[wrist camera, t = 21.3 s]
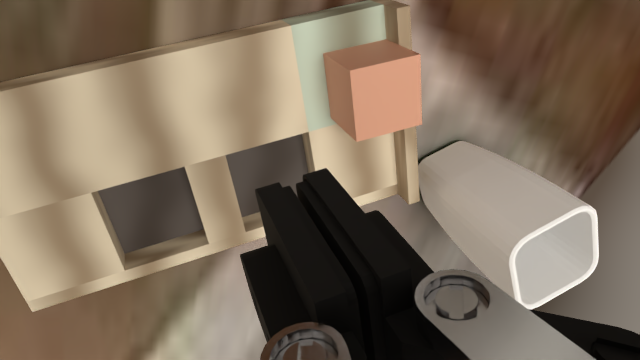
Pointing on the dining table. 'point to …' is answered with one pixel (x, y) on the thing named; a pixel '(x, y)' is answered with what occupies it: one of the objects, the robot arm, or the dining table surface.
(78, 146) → the board
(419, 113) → the block
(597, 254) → the cup
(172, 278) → the dining table surface
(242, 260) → the robot arm
